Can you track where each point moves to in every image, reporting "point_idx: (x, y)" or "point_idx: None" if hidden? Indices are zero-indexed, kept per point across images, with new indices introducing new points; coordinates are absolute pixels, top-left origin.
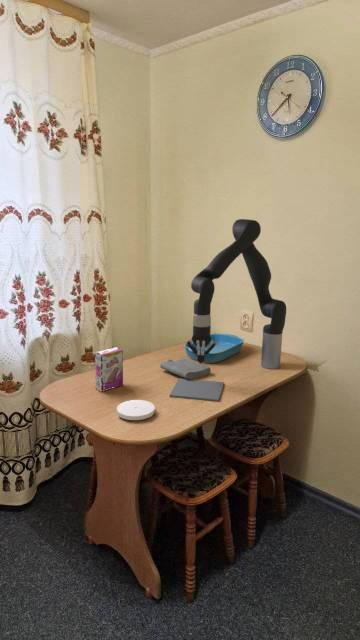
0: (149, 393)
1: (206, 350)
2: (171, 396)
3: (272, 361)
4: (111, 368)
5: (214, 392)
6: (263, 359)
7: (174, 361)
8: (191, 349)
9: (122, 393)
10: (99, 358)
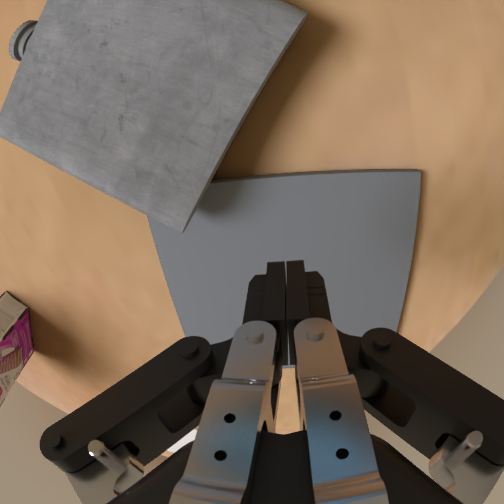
0: (124, 349)
1: (365, 370)
2: None
3: None
4: (1, 380)
5: (376, 311)
6: None
7: (35, 39)
8: (161, 419)
9: (69, 354)
10: None
